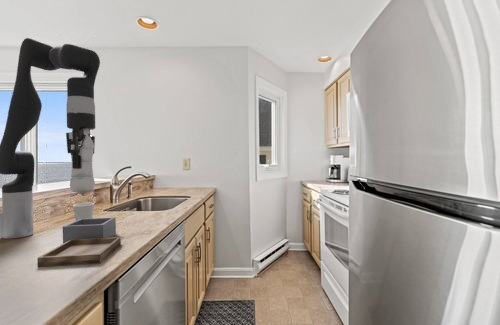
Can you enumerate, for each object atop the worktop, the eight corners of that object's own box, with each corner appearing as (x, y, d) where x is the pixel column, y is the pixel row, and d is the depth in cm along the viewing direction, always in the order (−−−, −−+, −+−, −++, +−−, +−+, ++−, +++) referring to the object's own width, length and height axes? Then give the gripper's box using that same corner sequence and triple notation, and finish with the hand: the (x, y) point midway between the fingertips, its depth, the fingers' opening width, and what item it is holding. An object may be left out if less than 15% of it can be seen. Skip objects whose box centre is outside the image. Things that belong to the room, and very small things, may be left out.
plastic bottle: (99, 192, 89) (99, 128, 89) (78, 194, 83) (78, 125, 83) (86, 191, 92) (85, 129, 92) (64, 193, 86) (64, 127, 86)
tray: (37, 267, 77) (37, 257, 77) (70, 247, 95) (70, 239, 95) (100, 263, 79) (100, 254, 79) (120, 244, 97) (120, 237, 97)
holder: (62, 245, 97) (62, 226, 97) (80, 235, 110) (80, 218, 110) (103, 243, 99) (102, 224, 99) (115, 234, 112) (115, 217, 112)
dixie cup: (98, 225, 127) (98, 203, 127) (79, 229, 120) (78, 206, 120) (88, 223, 131) (88, 202, 131) (69, 227, 124) (68, 204, 124)
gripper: (78, 116, 94) (79, 167, 94) (55, 108, 79) (56, 169, 80) (103, 116, 95) (104, 167, 95) (83, 109, 80) (84, 168, 81)
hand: (82, 168), depth 87 cm, fingers closed on plastic bottle, 6 cm apart
